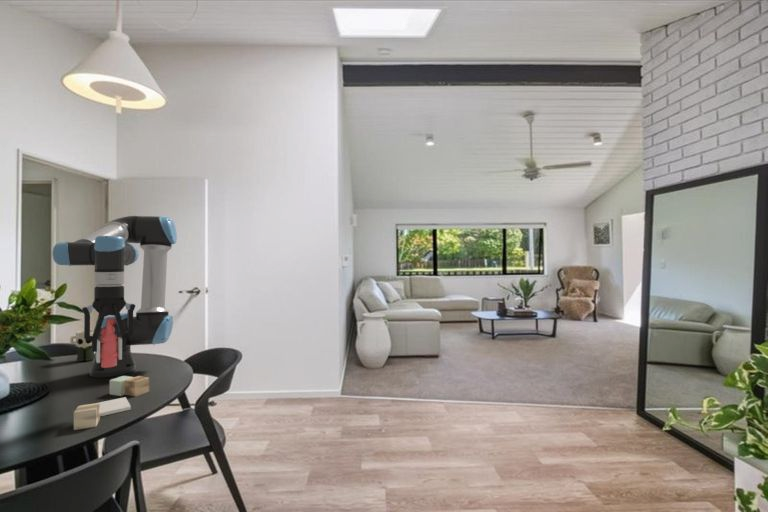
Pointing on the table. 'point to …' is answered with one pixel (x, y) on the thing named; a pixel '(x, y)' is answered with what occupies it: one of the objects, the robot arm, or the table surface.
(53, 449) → the table surface
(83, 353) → the character mug
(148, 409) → the table surface
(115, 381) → the sage block
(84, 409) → the maple block
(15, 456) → the table surface
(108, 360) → the figurine
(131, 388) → the oak block
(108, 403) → the coaster
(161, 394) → the table surface
